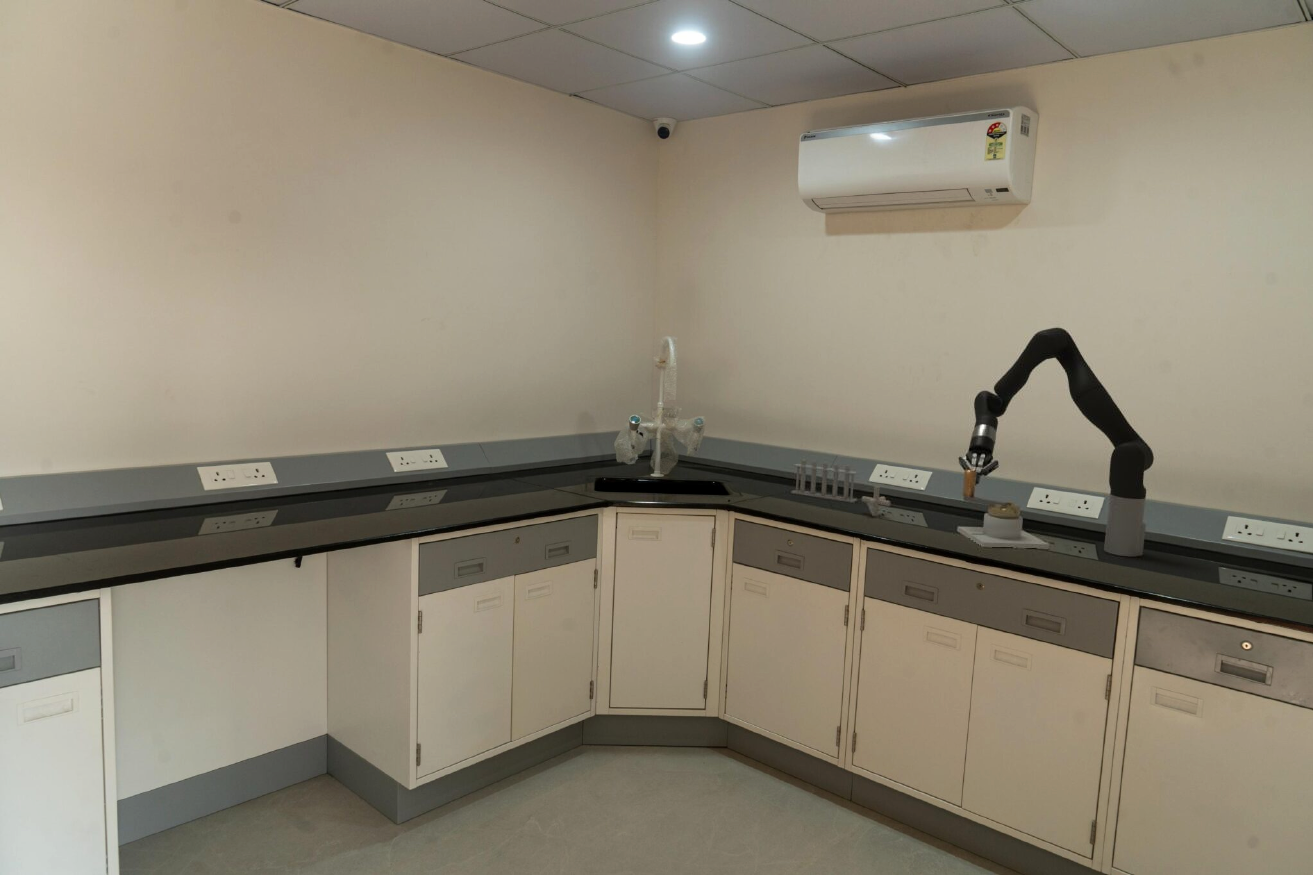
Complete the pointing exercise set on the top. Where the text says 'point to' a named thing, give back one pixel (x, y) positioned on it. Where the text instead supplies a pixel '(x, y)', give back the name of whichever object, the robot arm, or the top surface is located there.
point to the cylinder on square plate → (1002, 534)
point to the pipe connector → (876, 501)
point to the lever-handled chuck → (994, 506)
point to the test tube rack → (825, 481)
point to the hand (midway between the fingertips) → (973, 483)
